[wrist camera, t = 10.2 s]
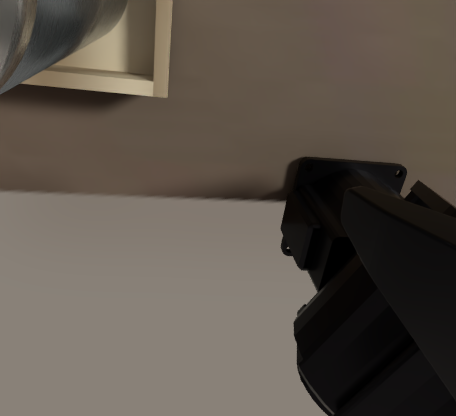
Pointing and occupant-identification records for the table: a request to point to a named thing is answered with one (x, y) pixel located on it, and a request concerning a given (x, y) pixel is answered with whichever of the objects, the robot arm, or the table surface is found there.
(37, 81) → the square wooden tray
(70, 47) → the canister
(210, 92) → the table surface
